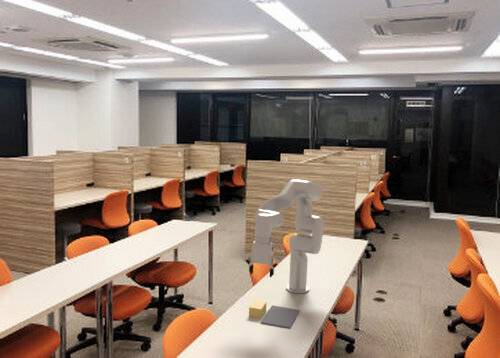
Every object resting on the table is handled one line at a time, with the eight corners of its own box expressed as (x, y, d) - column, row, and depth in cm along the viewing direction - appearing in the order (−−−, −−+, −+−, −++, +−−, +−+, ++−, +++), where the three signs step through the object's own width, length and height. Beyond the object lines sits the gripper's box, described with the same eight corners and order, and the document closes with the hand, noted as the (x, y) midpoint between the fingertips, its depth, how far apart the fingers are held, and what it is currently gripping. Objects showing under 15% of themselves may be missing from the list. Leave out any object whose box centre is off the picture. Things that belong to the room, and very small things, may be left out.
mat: (272, 306, 228) (272, 305, 228) (299, 310, 224) (299, 309, 224) (260, 323, 209) (260, 321, 209) (290, 328, 205) (290, 327, 205)
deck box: (254, 308, 225) (254, 300, 225) (266, 310, 223) (266, 302, 223) (248, 316, 217) (249, 307, 216) (260, 318, 215) (261, 309, 214)
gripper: (282, 240, 215) (280, 274, 217) (247, 236, 219) (246, 270, 222) (278, 243, 207) (277, 279, 210) (242, 239, 212) (241, 274, 214)
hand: (261, 274), depth 216 cm, fingers open, 9 cm apart
